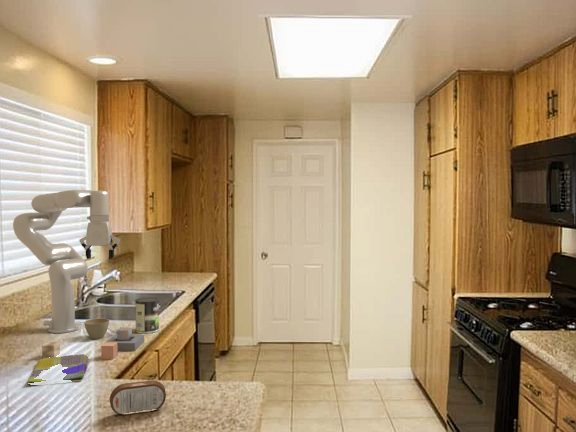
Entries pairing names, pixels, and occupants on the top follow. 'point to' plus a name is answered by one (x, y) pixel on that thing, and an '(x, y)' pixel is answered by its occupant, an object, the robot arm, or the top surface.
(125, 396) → the tin
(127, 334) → the steel block
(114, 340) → the bearing plate
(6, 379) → the top surface
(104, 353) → the terracotta block
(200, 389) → the top surface
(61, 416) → the top surface
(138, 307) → the coffee can
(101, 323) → the flower pot
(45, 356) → the birch block
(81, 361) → the dish towel
